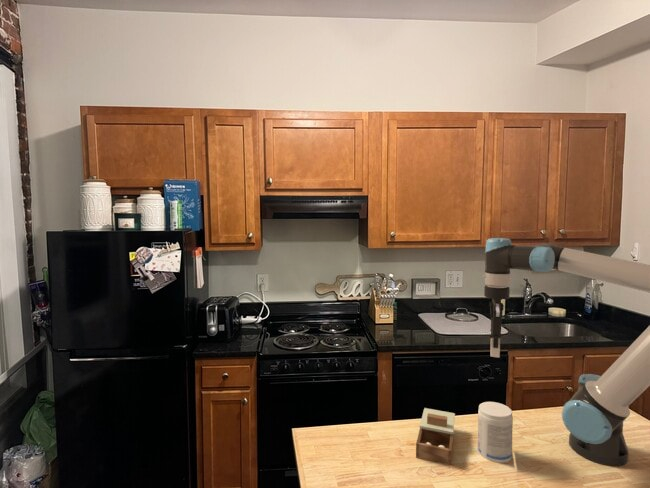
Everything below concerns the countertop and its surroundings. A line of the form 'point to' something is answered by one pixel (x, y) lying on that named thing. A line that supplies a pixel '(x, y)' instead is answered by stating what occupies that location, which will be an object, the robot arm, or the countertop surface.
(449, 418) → the lid
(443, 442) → the box
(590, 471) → the countertop surface
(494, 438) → the supplement tub
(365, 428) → the countertop surface
